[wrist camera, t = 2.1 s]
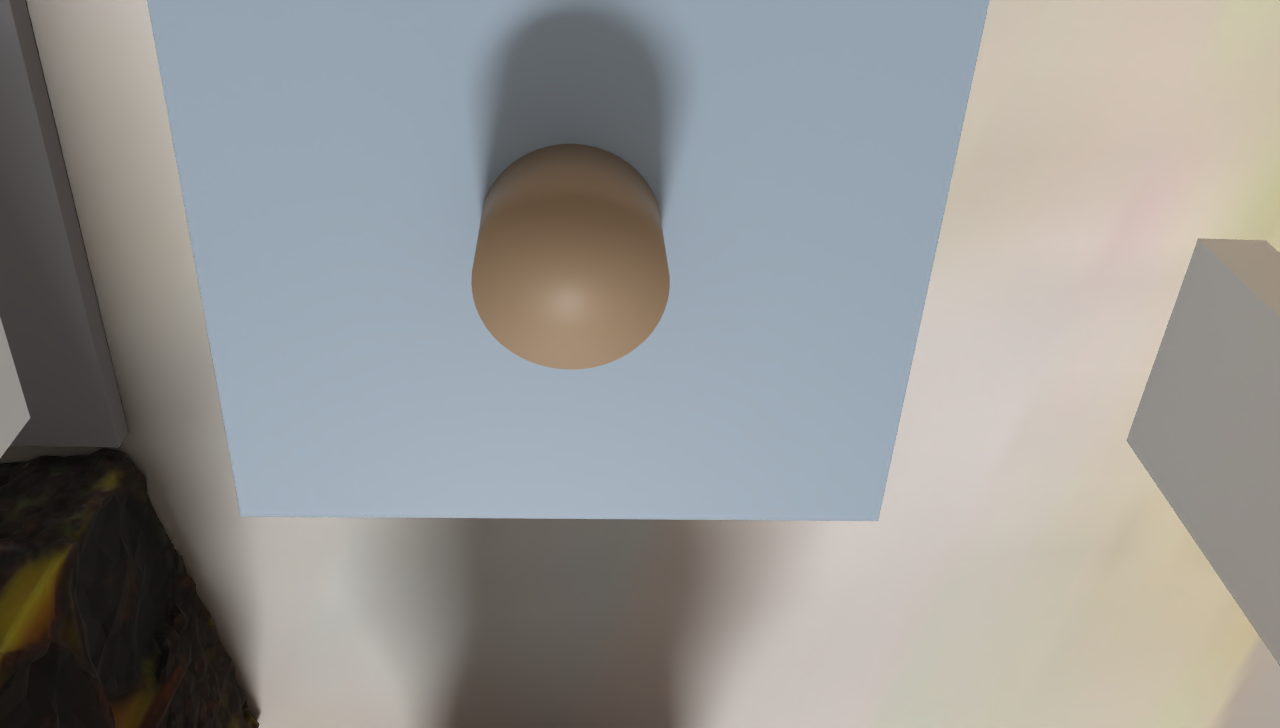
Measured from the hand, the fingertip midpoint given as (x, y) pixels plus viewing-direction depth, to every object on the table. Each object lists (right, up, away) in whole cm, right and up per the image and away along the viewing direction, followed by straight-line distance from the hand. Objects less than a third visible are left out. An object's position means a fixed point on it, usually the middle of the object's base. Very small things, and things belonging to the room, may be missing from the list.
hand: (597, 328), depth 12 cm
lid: (-1, +3, +5) cm, 5 cm away
